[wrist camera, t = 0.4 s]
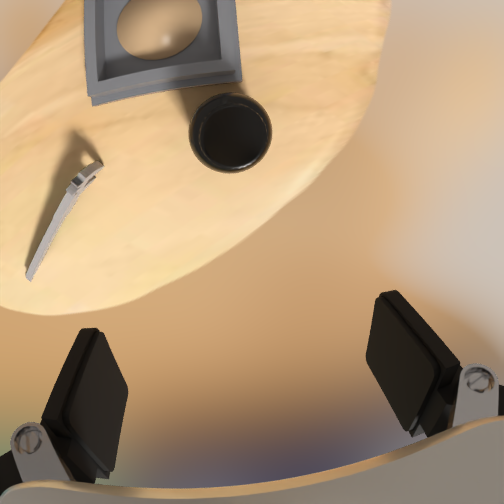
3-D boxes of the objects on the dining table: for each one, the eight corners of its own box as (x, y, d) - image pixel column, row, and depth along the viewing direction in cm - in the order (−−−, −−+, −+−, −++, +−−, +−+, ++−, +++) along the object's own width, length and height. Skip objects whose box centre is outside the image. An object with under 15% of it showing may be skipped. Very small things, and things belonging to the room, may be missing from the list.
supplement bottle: (182, 118, 30) (165, 119, 19) (238, 86, 30) (252, 70, 19) (214, 171, 33) (216, 200, 22) (270, 140, 32) (299, 153, 22)
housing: (91, -15, 21) (79, -27, 18) (230, -41, 23) (232, -57, 19) (95, 106, 28) (81, 106, 25) (241, 81, 29) (245, 77, 26)
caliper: (99, 159, 31) (77, 168, 25) (106, 165, 31) (85, 175, 26) (26, 276, 35) (6, 299, 30) (32, 280, 36) (12, 305, 30)
